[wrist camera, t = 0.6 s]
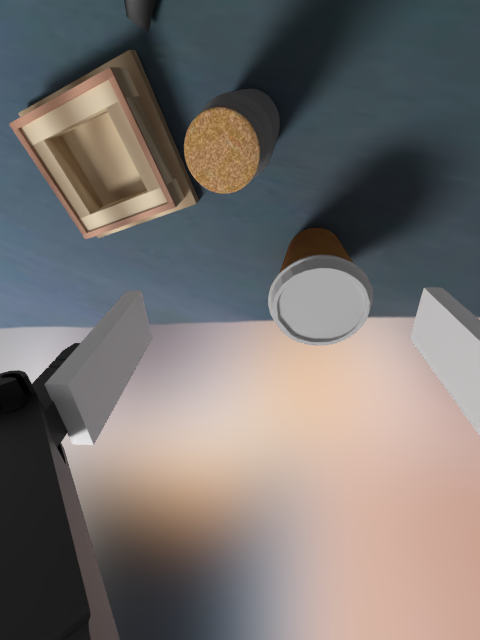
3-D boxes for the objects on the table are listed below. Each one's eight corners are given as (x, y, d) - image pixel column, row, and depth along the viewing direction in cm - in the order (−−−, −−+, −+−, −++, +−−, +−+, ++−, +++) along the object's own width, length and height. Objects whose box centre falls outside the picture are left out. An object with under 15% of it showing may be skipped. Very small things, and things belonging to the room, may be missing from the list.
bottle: (209, 116, 31) (155, 139, 19) (259, 72, 28) (231, 67, 16) (242, 169, 33) (213, 219, 22) (291, 134, 31) (287, 168, 19)
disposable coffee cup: (270, 218, 36) (261, 267, 27) (357, 208, 34) (381, 258, 25) (278, 288, 42) (272, 350, 32) (353, 284, 40) (371, 348, 30)
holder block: (135, 50, 29) (112, 46, 25) (199, 200, 36) (188, 213, 32) (26, 112, 33) (-7, 116, 29) (102, 234, 40) (84, 249, 37)
